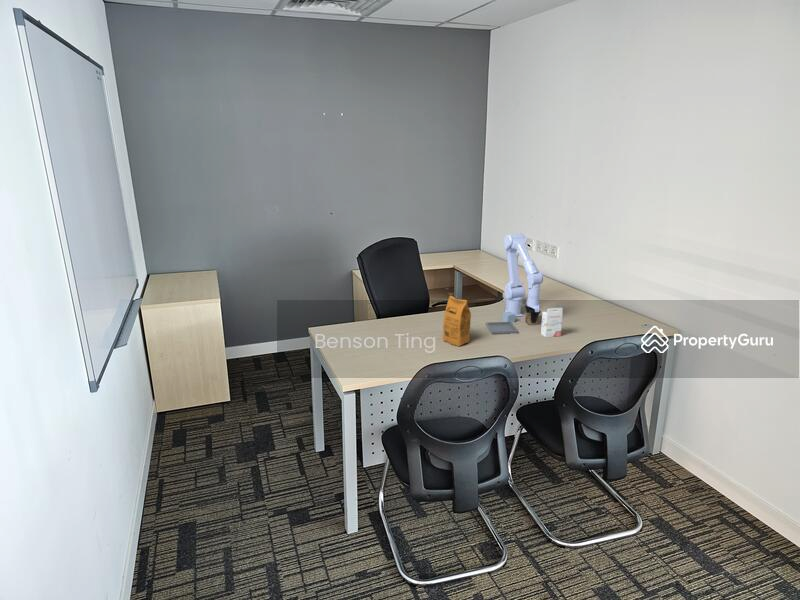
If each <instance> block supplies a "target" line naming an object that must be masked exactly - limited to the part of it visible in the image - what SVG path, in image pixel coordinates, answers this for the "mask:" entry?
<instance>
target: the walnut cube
mask: <svg viewBox="0 0 800 600" xmlns="http://www.w3.org/2000/svg"><path fill="white" fill-rule="evenodd" d="M524 319H525V320H524V321H525V322H524V323H526V324H527V326H539V325H538V324H539V316H538V317H537V320H536V323H531V315H530V313H527V312H525V318H524Z"/></svg>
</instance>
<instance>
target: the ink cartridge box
mask: <svg viewBox="0 0 800 600" xmlns="http://www.w3.org/2000/svg"><path fill="white" fill-rule="evenodd" d="M546 310H547V311H541V313H542V314H541V316H542V317H541V327H540V328H541V330H540V334H541V335H542V336H543V337H544V338H551V337H553V338H554V336H555V337H562V325H563V316H564V315H563V310H564V309H563V307H551V308H550V307H549V308H547V309H546Z"/></svg>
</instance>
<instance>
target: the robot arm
mask: <svg viewBox="0 0 800 600" xmlns="http://www.w3.org/2000/svg"><path fill="white" fill-rule="evenodd" d="M503 241H504V242H503V243H504V250H505V253H506V254H505V255H506V263H507V271H508V283H506V284H505V286H504V287H505V289H504V292H505V296H506V297H507V300H506V303H505V309H504V310H503V312H504V311H505V312H504V313H506V312H512V313H514V314H515V317H524V315H523V314H522V304H521V299H523V297H524V296H525V294H526V288H525V286H524V283H523V282H522V281H520V274H519V273H520V272H519V265H518V264H519V263H518V264H517V255H516V252H518V253H519V256H520V257H521V259H522V262H523V264H522V267H523V269H524V271H525V273H526V276H527V277H526V282H527V299H526V305H524V308H525V310H526V313H530V315H531V323H536V320H537V317H538V318H539V315H540V314H541V313H542V310H540V306H542V304H541V303H540V294H541V293H540V292H541V284H542V283H543V281H544V275H543V273H542V272H540V271H539V270H538V268H537V266H536V263H535V261H534V259H531V258H530V254H529V251H528V247H527V246H526V245H527V238H526V235H525V234H524V233H522V232H521V233H512V234H510V233H509V234H506V235H505V236H504V239H503ZM513 286H516V287H513Z"/></svg>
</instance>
